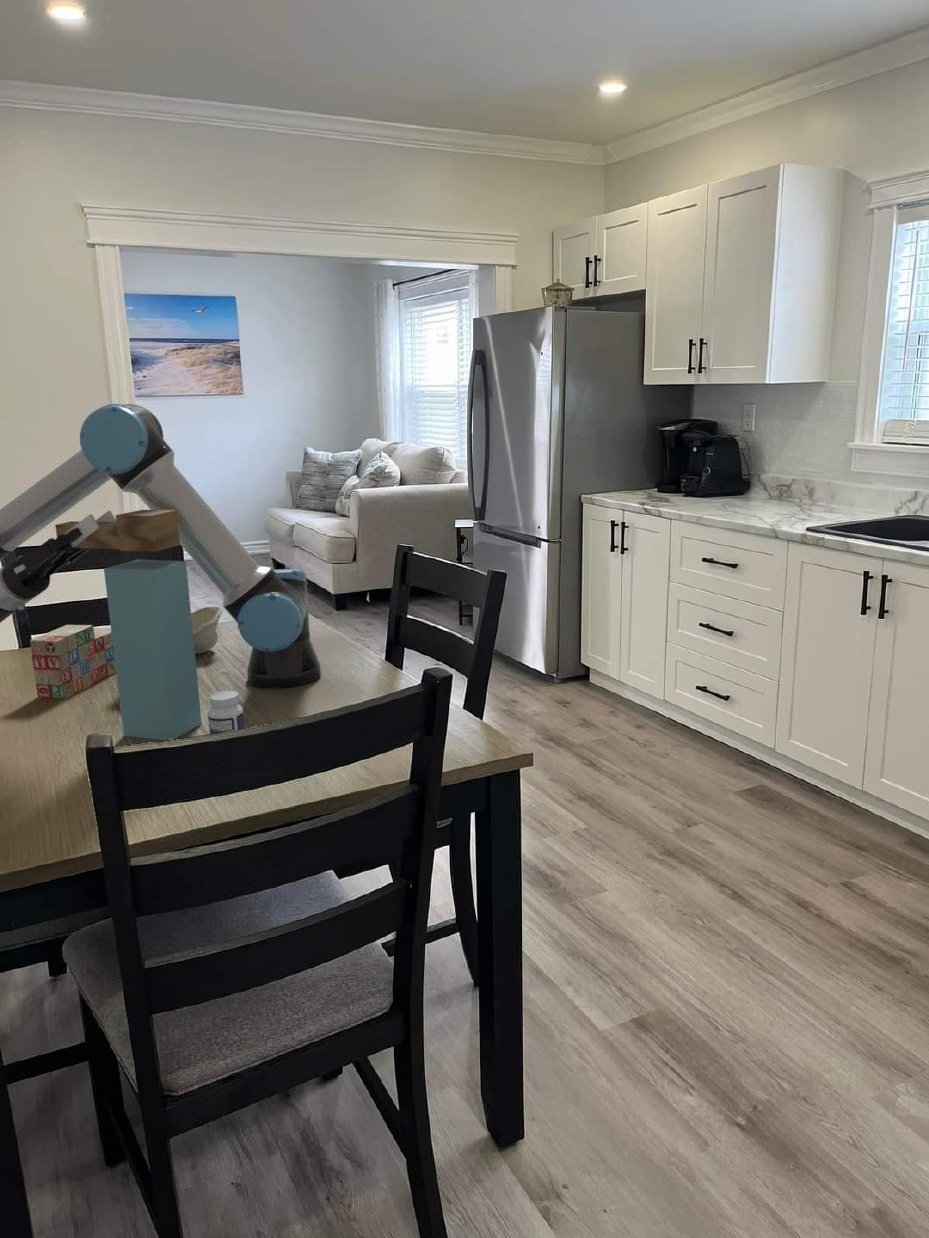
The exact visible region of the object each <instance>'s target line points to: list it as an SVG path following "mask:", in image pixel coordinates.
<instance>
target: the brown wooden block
mask: <svg viewBox="0 0 929 1238" xmlns="http://www.w3.org/2000/svg"><path fill="white" fill-rule="evenodd" d="M115 519H116V522H97V523H98V525H99V527H100V529H98V530H97V531H96V532H94V533H93V534H92V535H90V536H89V537H88V538H86V539H85V540H83V541H82V542H81V543H79V544H78V545H77V546H75V547H72V545H71V544H70V546H71V548H92V549H97V550H98V549H104V550H105V549H106V550H119V551H120V552H148V553H150V552H153V553H156V552H160V551H162V550H166V549H170V548H174V547H177V546H181V545H180V539H179V530H178V520H177V511H176V510H150V509H139V510H134V511H129V512H125V513H119V514H115ZM79 522H80V521H67V522H62V523H57V524H54V525H55V531H56V532H55V533H56V538H57V537H58V536H59V535H65V533H66V532H67V531H68V530H70V529H71V528H72V527H74V526H75V525H76V524H78V523H79Z"/></svg>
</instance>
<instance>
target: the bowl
mask: <svg viewBox="0 0 929 1238" xmlns="http://www.w3.org/2000/svg"><path fill="white" fill-rule="evenodd" d="M223 612H224V610H223V609H222V607H218V606H207V607H203V608H200V609H198V610H195V611H193V612H191V619H192V629H193V639H194V650H195V655H202V654H203V653H205V652H208V651H209V650H211V649H212V648H214V646H215V645H216V644H217V642H218V633H217V626H218V623H219V622H220V621H219V620H220V618H221V616H222V615H223Z"/></svg>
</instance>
